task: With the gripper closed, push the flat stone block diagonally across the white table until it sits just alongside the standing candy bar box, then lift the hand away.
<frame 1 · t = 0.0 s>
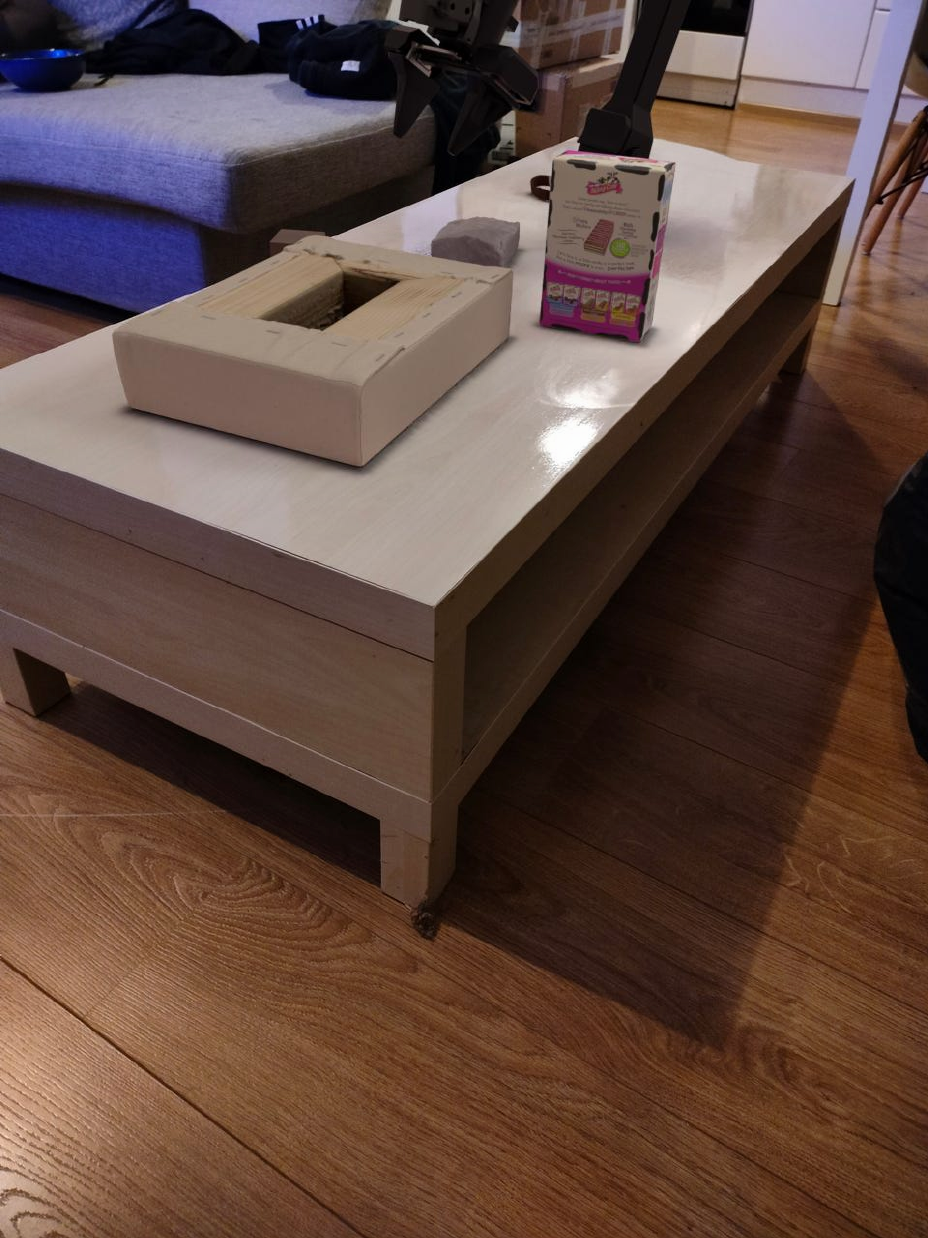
hand: (423, 144, 100), 15 cm above the table, tool tilted 35°, fingers open, 9 cm apart
walnut cube: (300, 282, 110), on the table
box: (335, 372, 91), on the table
stone block: (473, 258, 119), on the table
watch: (551, 199, 143), on the table
candy bar box: (594, 329, 102), on the table
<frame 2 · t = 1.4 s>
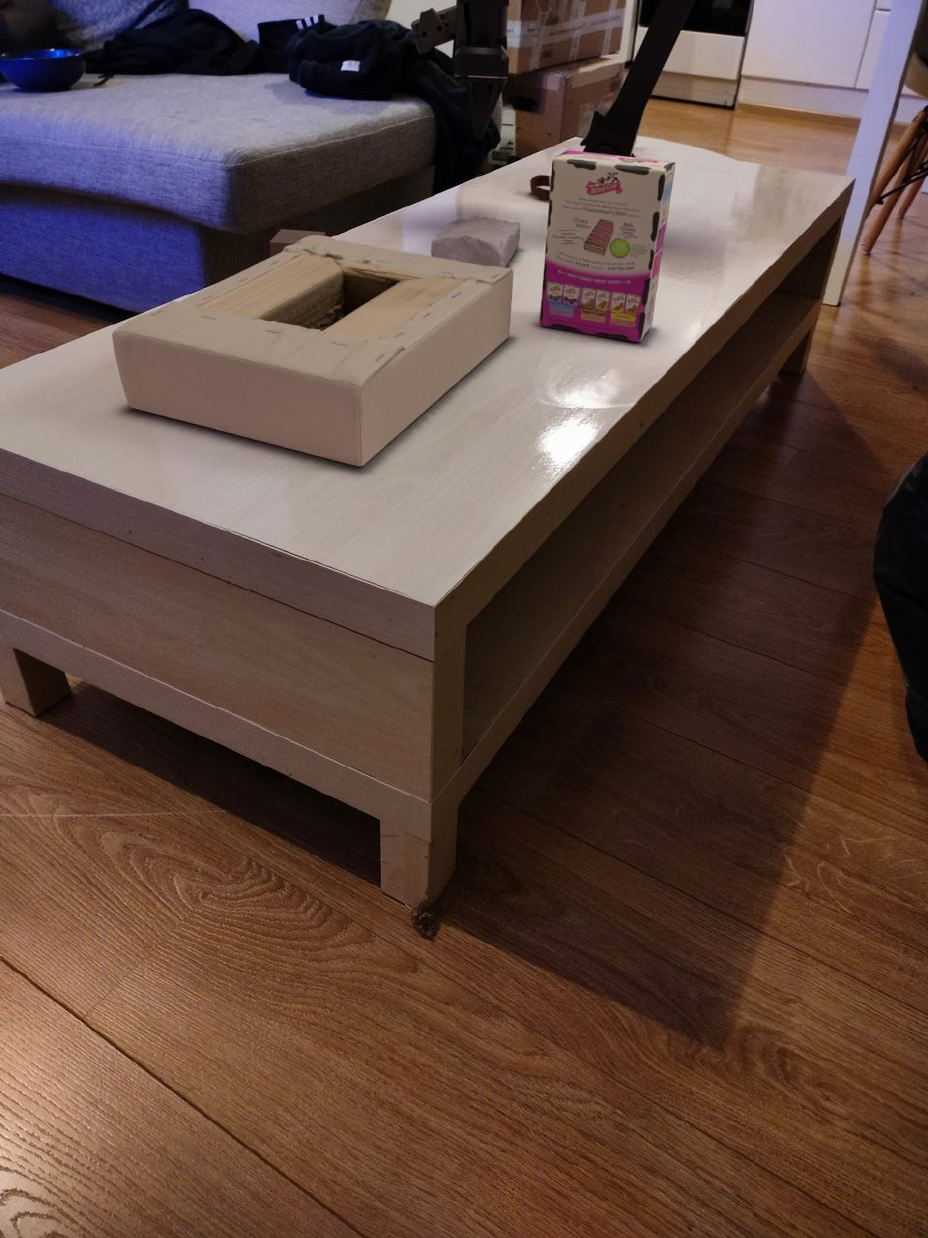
hand: (478, 130, 121), 12 cm above the table, tool pointing down, fingers open, 8 cm apart
nothing on the table moved.
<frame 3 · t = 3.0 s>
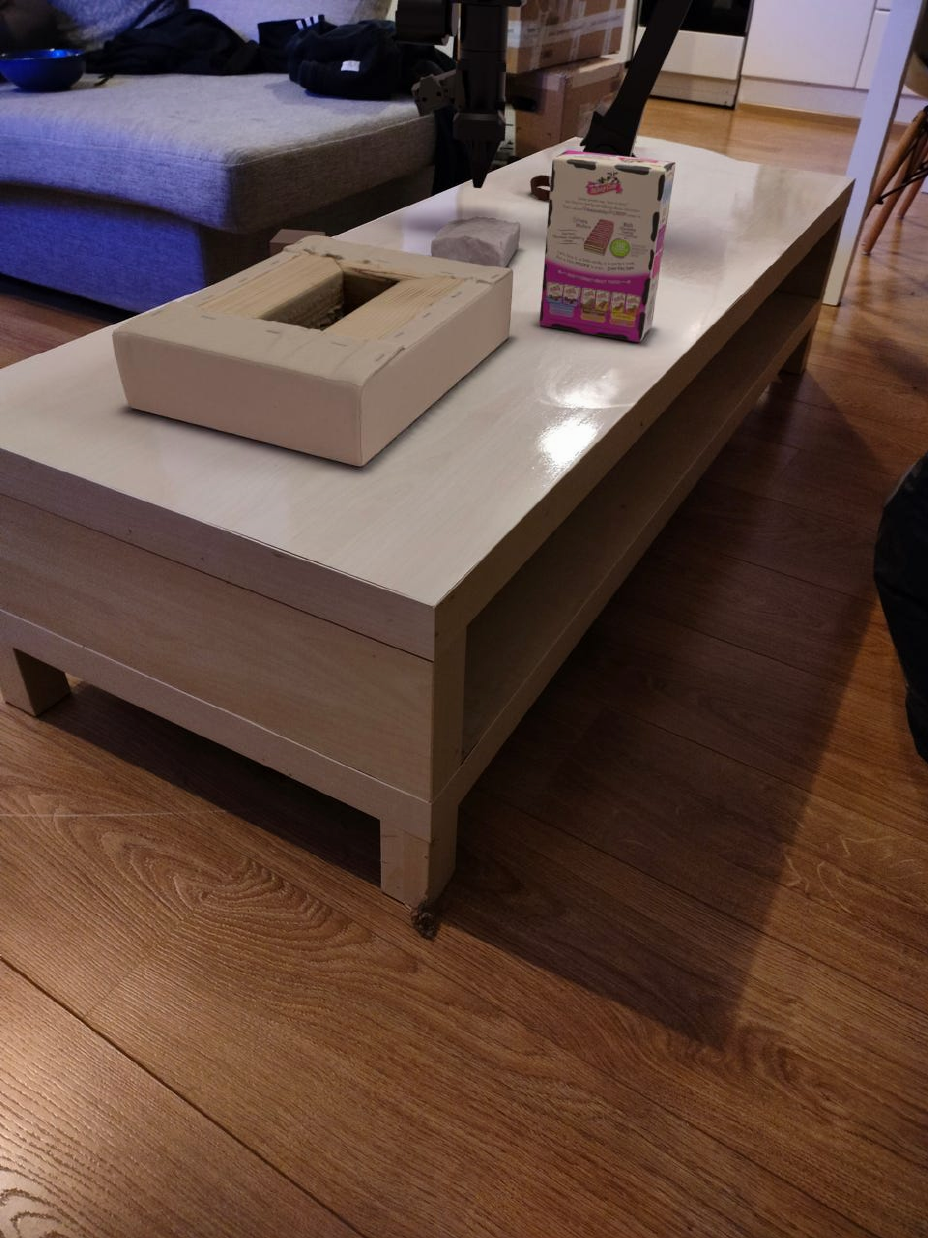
hand: (477, 187, 125), 5 cm above the table, tool pointing down, fingers closed
nothing on the table moved.
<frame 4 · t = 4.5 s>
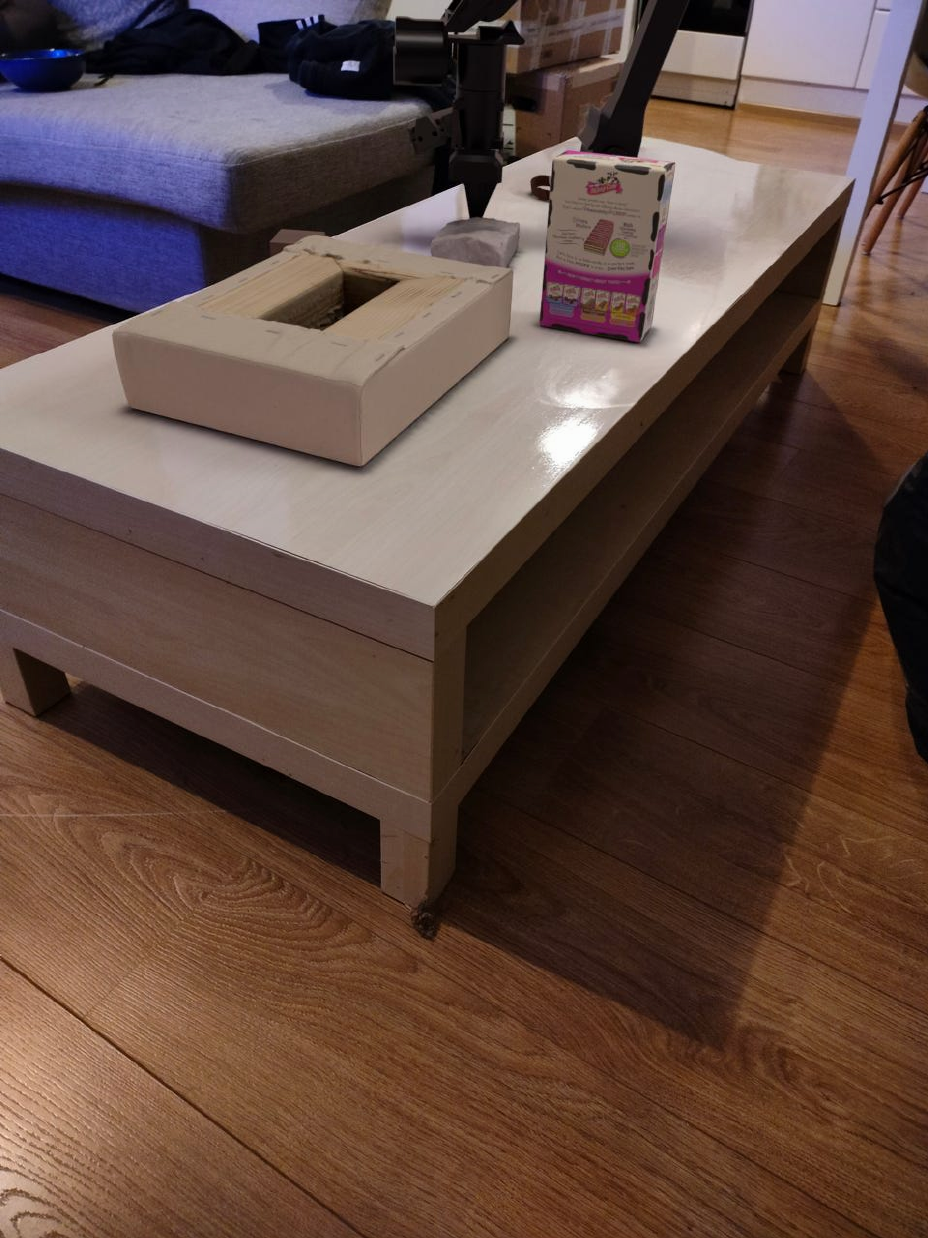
hand: (474, 225, 123), 2 cm above the table, tool pointing down, fingers closed
stone block: (472, 259, 119), on the table, touching gripper
everything else where it was.
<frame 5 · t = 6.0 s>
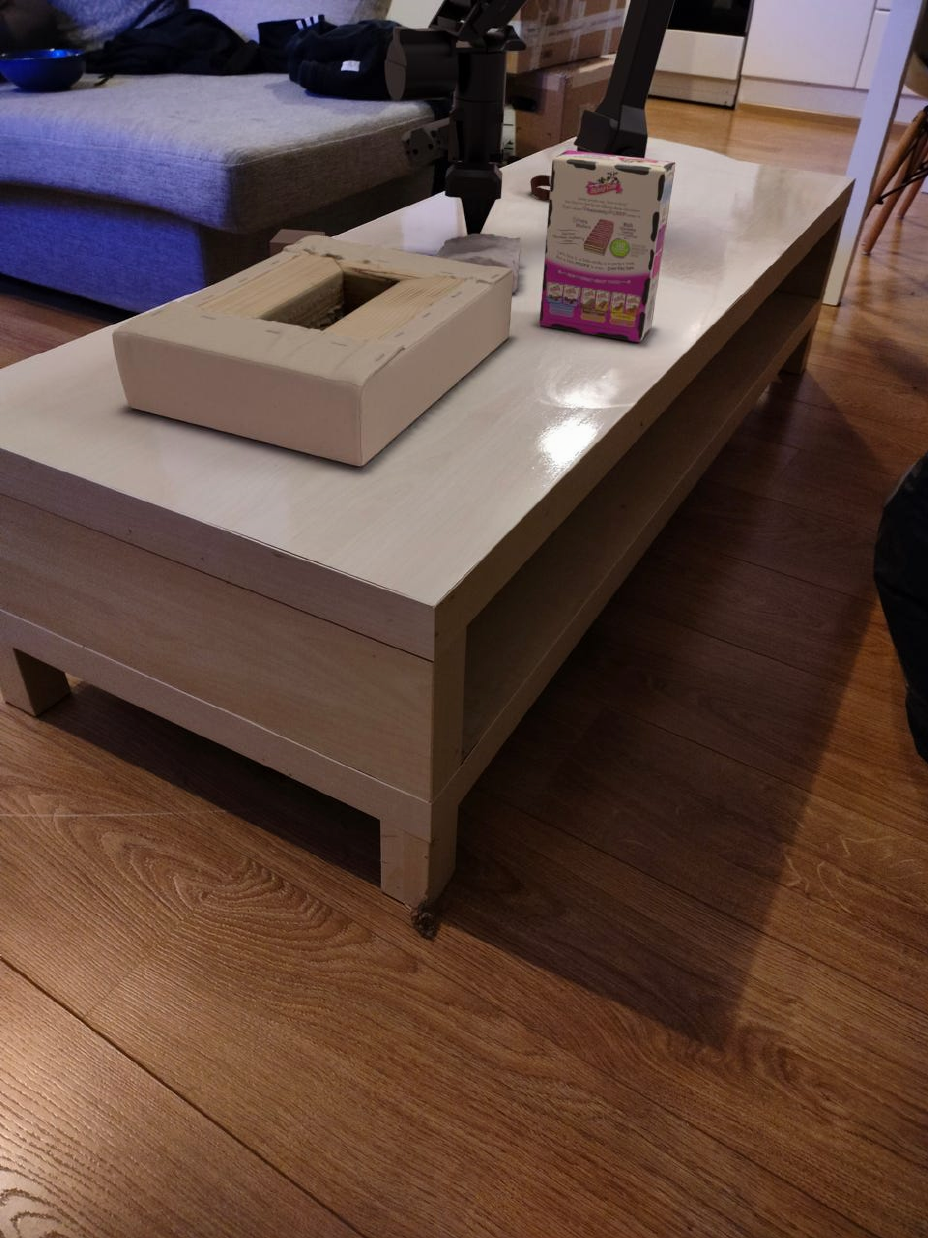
hand: (472, 241, 117), 2 cm above the table, tool pointing down, fingers closed
stone block: (477, 278, 113), on the table, touching gripper
everything else where it was.
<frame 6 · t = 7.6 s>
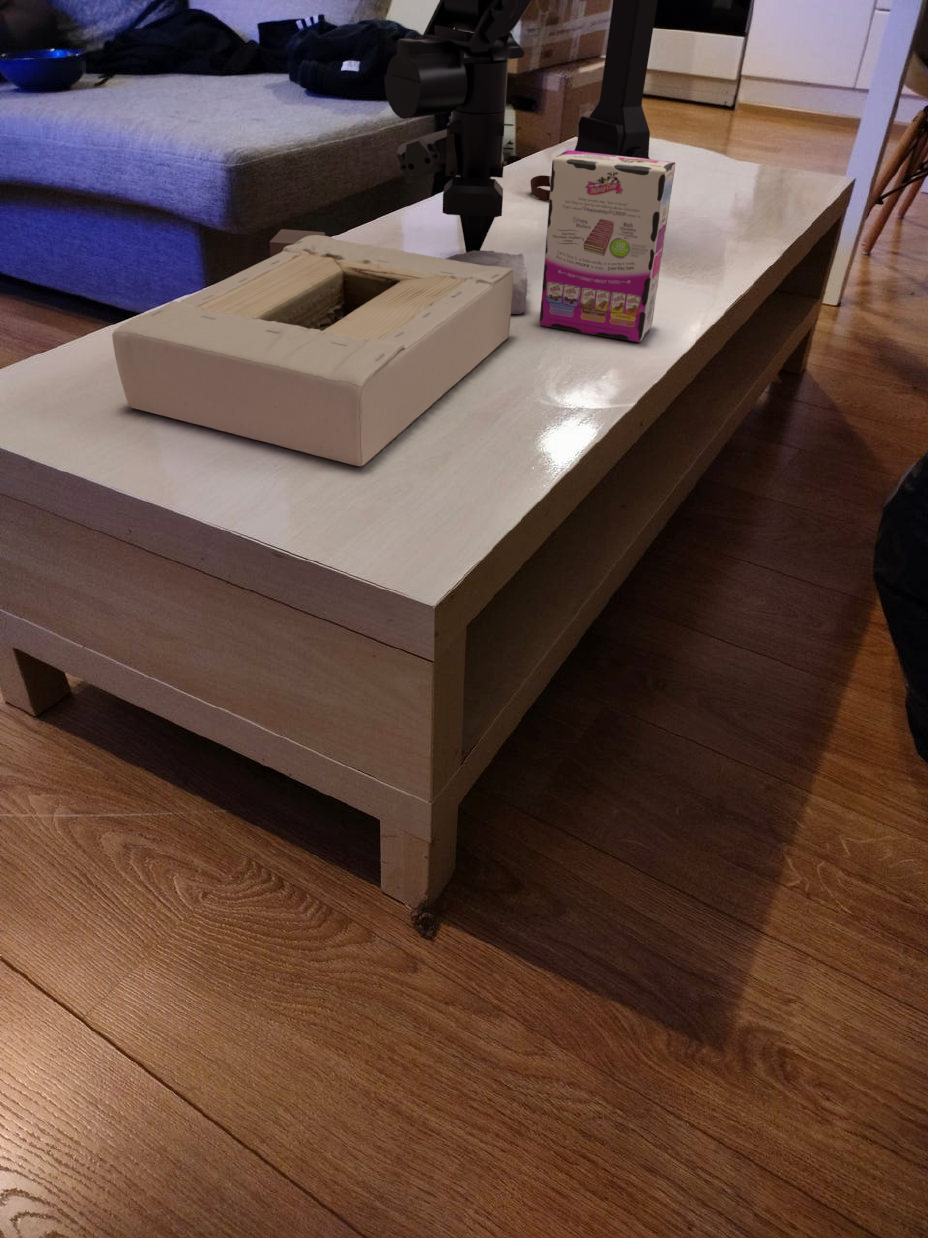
hand: (471, 258, 112), 2 cm above the table, tool pointing down, fingers closed
stone block: (479, 298, 108), on the table, touching gripper
everything else where it was.
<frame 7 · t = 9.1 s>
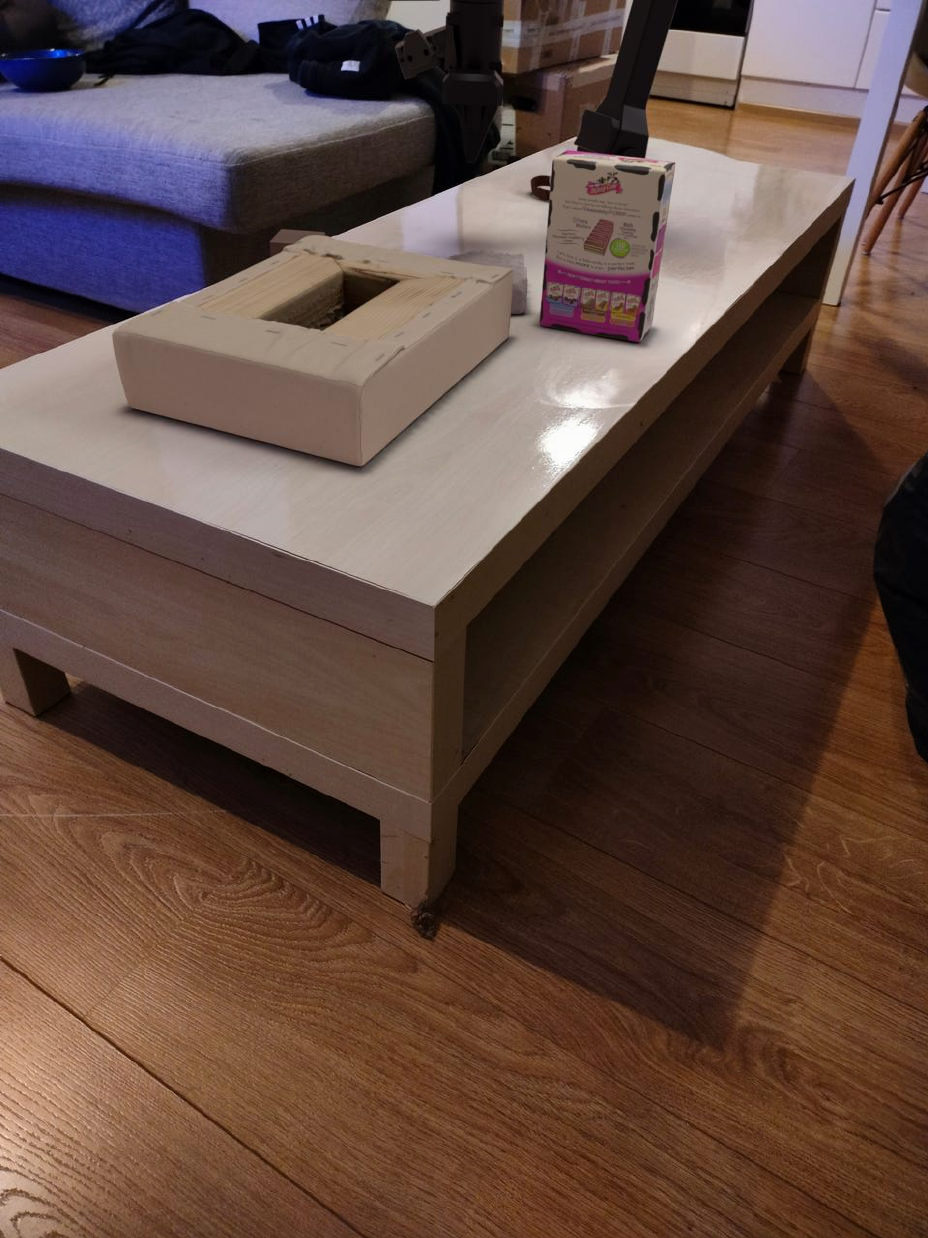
hand: (470, 161, 111), 11 cm above the table, tool pointing down, fingers closed
stone block: (480, 298, 108), on the table
everything else where it was.
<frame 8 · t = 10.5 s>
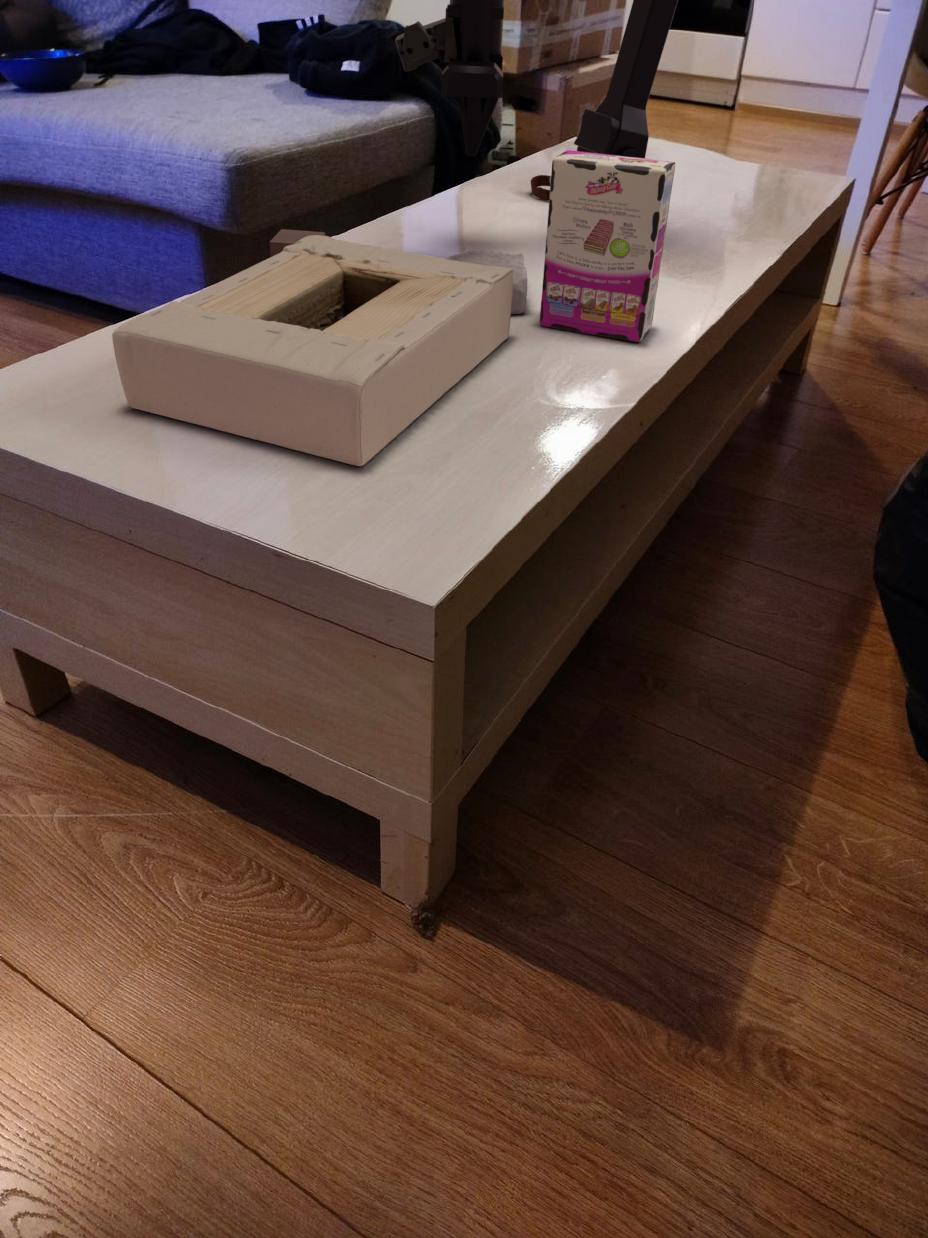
hand: (471, 154, 110), 12 cm above the table, tool pointing down, fingers closed
nothing on the table moved.
at the end: stone block inside the target area on the table beside the candy bar box (2.7 cm from its centre), on the table; stone block moved 14.1 cm from its start; candy bar box tilted 0° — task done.
